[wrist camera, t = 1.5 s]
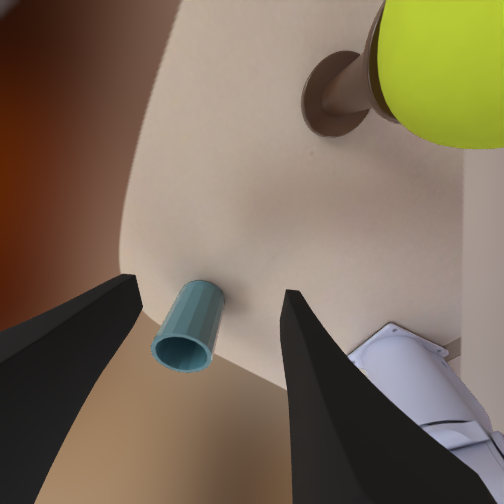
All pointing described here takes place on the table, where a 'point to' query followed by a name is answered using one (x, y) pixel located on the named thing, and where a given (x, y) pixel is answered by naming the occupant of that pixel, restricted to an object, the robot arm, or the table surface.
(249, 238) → the table surface
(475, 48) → the ball
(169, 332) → the tumbler
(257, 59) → the table surface
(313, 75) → the stand
